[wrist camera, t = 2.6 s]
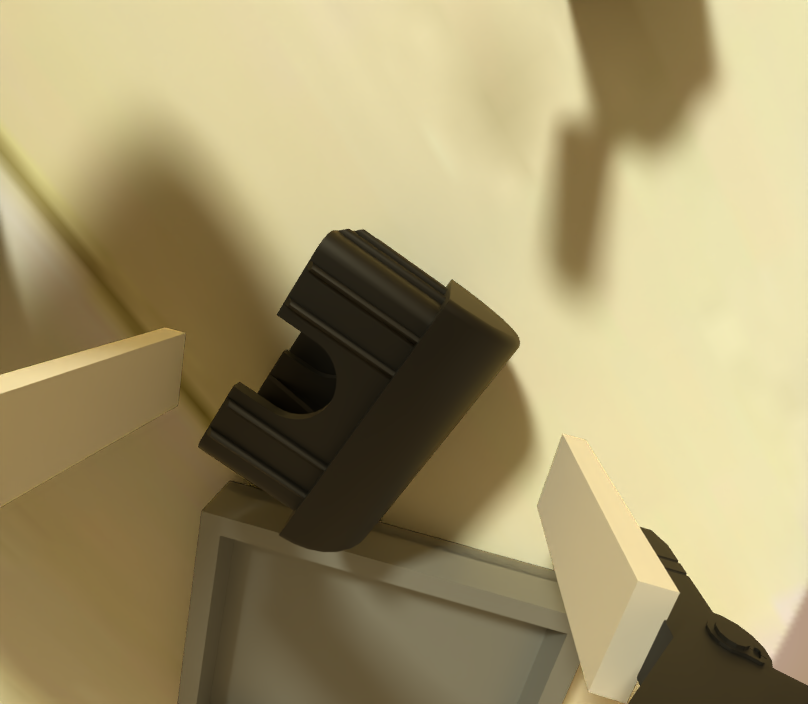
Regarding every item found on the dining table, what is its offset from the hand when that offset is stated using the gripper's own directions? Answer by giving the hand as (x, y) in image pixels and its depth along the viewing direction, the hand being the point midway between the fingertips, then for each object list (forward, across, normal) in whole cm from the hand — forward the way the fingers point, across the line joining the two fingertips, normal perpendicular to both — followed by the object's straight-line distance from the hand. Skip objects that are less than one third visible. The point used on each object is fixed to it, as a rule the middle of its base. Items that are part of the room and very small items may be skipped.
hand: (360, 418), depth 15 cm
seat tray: (+6, +2, -16) cm, 17 cm away
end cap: (+6, 0, 0) cm, 6 cm away
